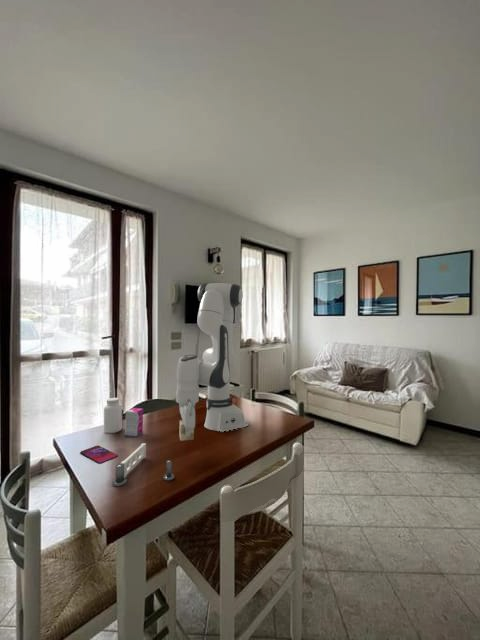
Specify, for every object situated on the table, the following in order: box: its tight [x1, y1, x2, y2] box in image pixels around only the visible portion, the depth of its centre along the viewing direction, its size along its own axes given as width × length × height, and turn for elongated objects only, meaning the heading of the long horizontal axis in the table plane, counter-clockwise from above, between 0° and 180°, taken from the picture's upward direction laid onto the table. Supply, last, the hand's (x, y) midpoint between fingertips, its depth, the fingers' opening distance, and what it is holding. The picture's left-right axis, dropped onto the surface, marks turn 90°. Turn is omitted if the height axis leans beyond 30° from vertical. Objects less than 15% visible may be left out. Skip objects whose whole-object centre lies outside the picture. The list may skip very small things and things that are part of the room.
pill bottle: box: [103, 397, 123, 434], centre depth 135 cm, size 8×8×15 cm
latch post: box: [162, 459, 175, 482], centre depth 94 cm, size 4×4×6 cm
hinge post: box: [111, 463, 128, 487], centre depth 91 cm, size 4×4×6 cm
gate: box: [120, 442, 147, 478], centre depth 101 cm, size 15×1×5 cm, turn 172°
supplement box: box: [124, 407, 144, 438], centre depth 130 cm, size 6×6×12 cm
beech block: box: [178, 419, 195, 442], centre depth 110 cm, size 5×5×6 cm
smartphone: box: [79, 445, 119, 465], centre depth 110 cm, size 8×1×15 cm
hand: (186, 432), depth 110 cm, fingers closed on beech block, 5 cm apart
